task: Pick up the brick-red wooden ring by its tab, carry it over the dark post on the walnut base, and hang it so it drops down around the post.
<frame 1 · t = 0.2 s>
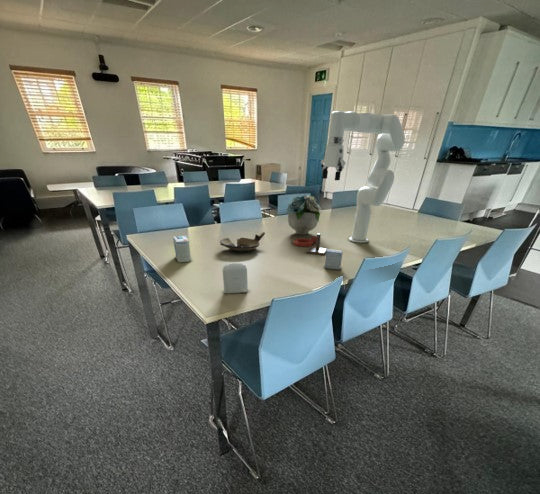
hand: (330, 179, 171), 37 cm above the table, tool pointing down, fingers open, 9 cm apart
medicine box: (332, 268, 162), on the table
flower arrangement: (302, 233, 221), on the table
post: (316, 251, 185), on the table
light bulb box: (183, 259, 168), on the table
oil lamp: (244, 250, 185), on the table
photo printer: (235, 292, 134), on the table
ring: (303, 244, 198), on the table
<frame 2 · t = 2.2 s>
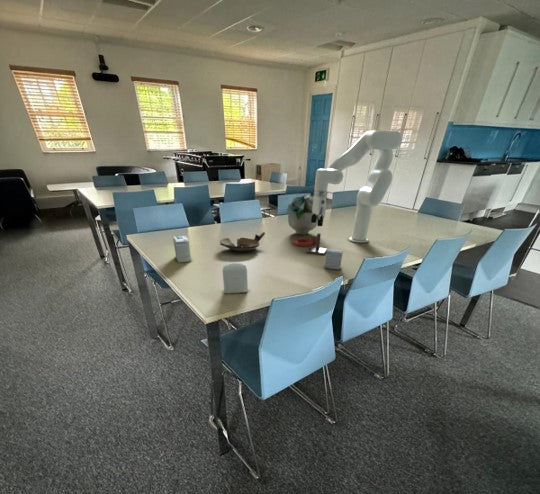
hand: (316, 224, 193), 12 cm above the table, tool pointing down, fingers open, 9 cm apart
nothing on the table moved.
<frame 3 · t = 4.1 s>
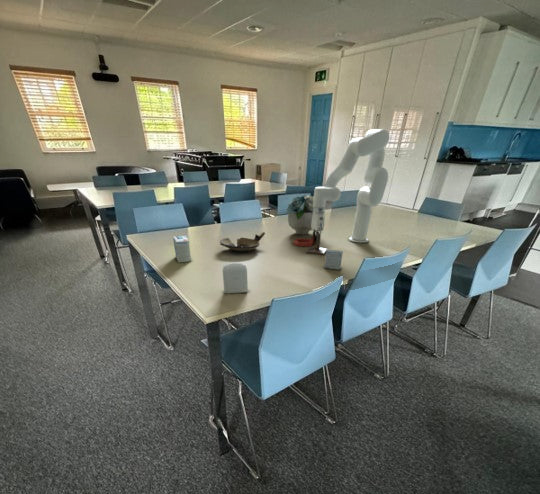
hand: (315, 241, 199), 1 cm above the table, tool pointing down, fingers closed on ring, 2 cm apart
ring: (303, 244, 198), on the table, touching gripper
everything else where it was.
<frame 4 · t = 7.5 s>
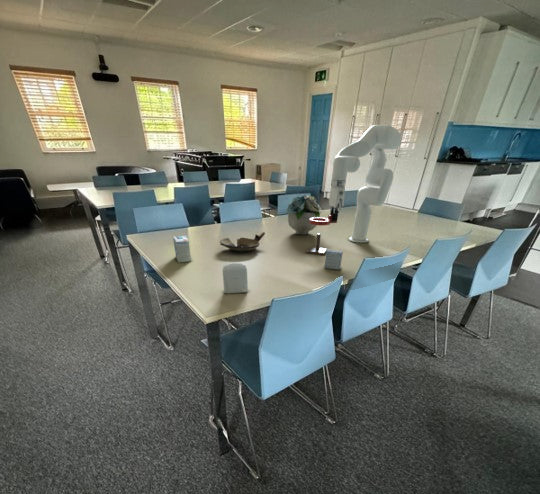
hand: (333, 220, 177), 17 cm above the table, tool pointing down, fingers closed on ring
ring: (319, 223, 175), point 16 cm above the table, touching gripper
everything else where it was.
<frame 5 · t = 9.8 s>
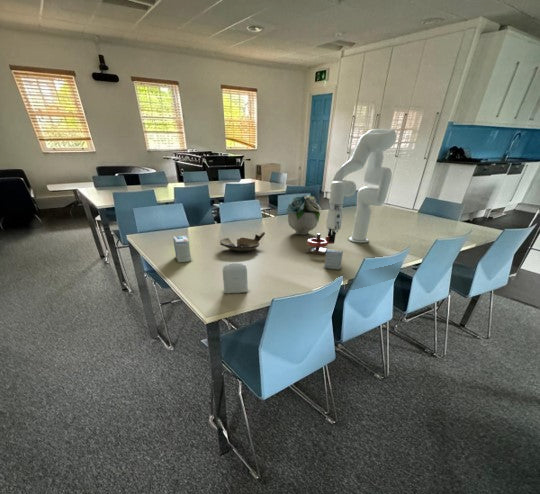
hand: (330, 240, 183), 6 cm above the table, tool pointing down, fingers closed on ring
ring: (317, 244, 182), point 5 cm above the table, touching gripper
everything else where it was.
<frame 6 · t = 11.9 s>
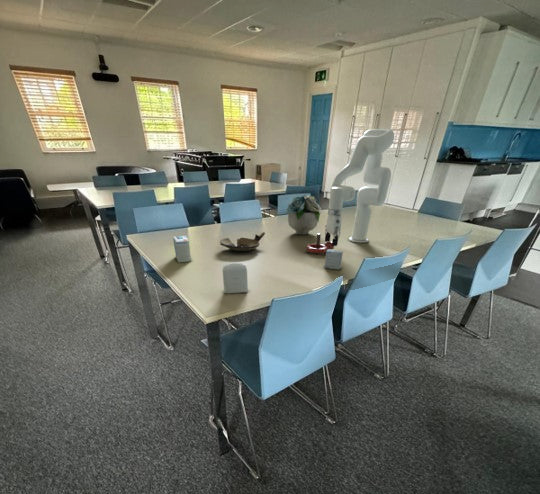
hand: (330, 243, 184), 4 cm above the table, tool pointing down, fingers open, 9 cm apart
ring: (316, 249, 184), point 1 cm above the table, touching post
everything else where it was.
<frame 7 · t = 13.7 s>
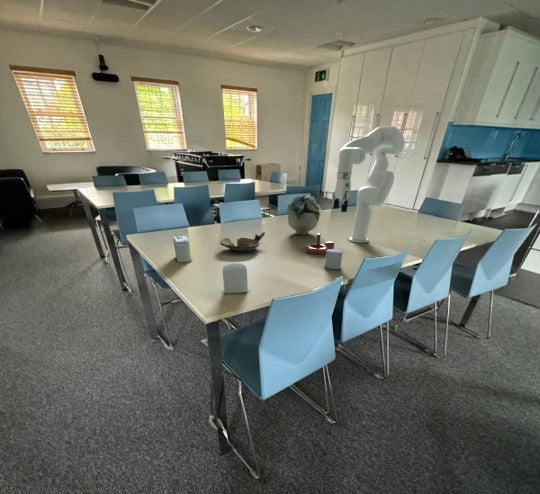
hand: (339, 210, 178), 22 cm above the table, tool pointing down, fingers open, 9 cm apart
nothing on the table moved.
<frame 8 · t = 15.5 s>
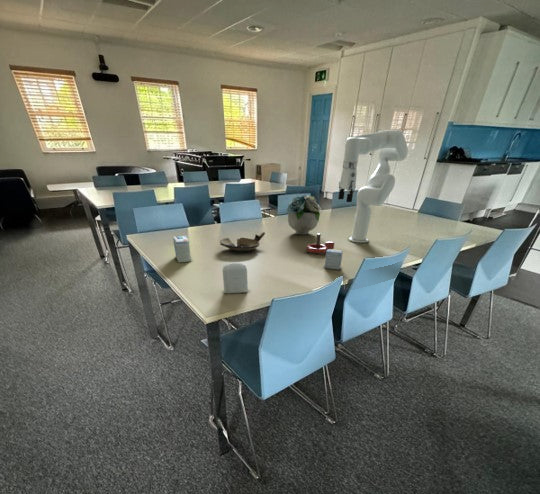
hand: (344, 200, 178), 26 cm above the table, tool pointing down, fingers open, 9 cm apart
nothing on the table moved.
at the end: ring 0.2 cm off-centre on the post, point 1.2 cm above the post's base; the gripper is holding nothing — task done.
